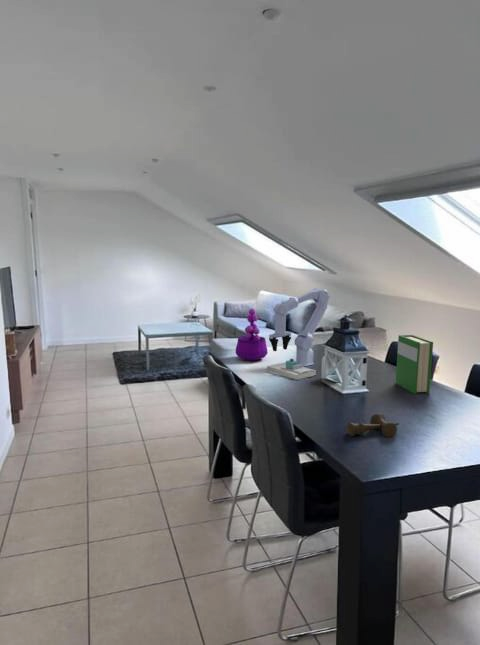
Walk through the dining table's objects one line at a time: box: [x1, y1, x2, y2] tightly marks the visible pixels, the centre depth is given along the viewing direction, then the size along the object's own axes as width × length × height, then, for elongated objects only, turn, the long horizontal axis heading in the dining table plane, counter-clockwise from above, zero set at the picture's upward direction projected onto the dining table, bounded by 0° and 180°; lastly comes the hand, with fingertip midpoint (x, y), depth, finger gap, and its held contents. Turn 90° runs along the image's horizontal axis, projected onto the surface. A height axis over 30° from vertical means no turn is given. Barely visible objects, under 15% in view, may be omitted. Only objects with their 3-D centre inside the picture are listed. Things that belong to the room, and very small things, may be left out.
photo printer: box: [320, 355, 326, 380], centre depth 238 cm, size 10×4×12 cm, turn 39°
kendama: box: [346, 412, 400, 438], centre depth 171 cm, size 6×10×20 cm
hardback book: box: [395, 334, 434, 395], centre depth 226 cm, size 18×7×24 cm, turn 10°
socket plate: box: [266, 361, 317, 380], centre depth 251 cm, size 14×24×3 cm, turn 38°
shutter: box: [292, 364, 311, 373], centre depth 246 cm, size 7×7×2 cm
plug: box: [285, 358, 298, 370], centre depth 251 cm, size 4×4×7 cm
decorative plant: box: [235, 308, 268, 361], centre depth 280 cm, size 19×18×30 cm
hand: (279, 350), depth 263 cm, fingers open, 7 cm apart
